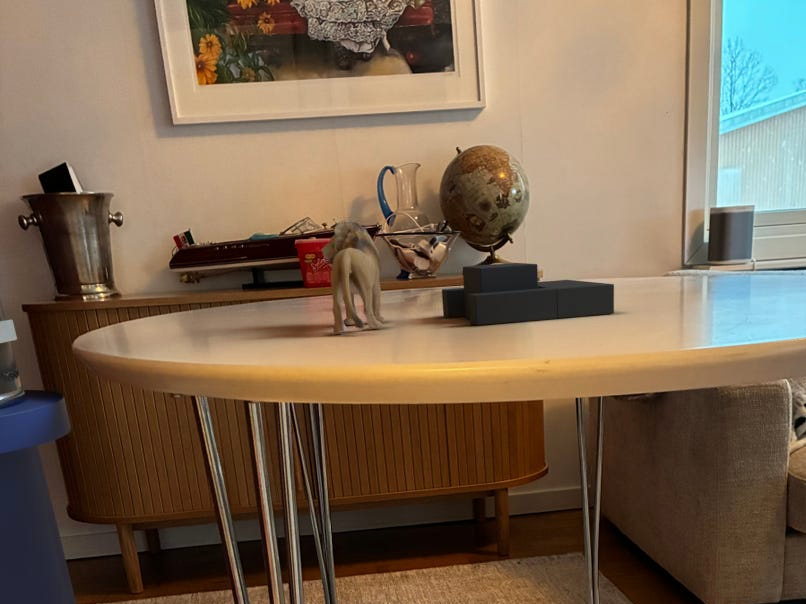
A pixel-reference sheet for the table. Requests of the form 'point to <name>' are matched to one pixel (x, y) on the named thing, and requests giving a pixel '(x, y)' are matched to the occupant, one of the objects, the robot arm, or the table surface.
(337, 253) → the lion figurine
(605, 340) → the table surface
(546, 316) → the big pad
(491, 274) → the small black block
